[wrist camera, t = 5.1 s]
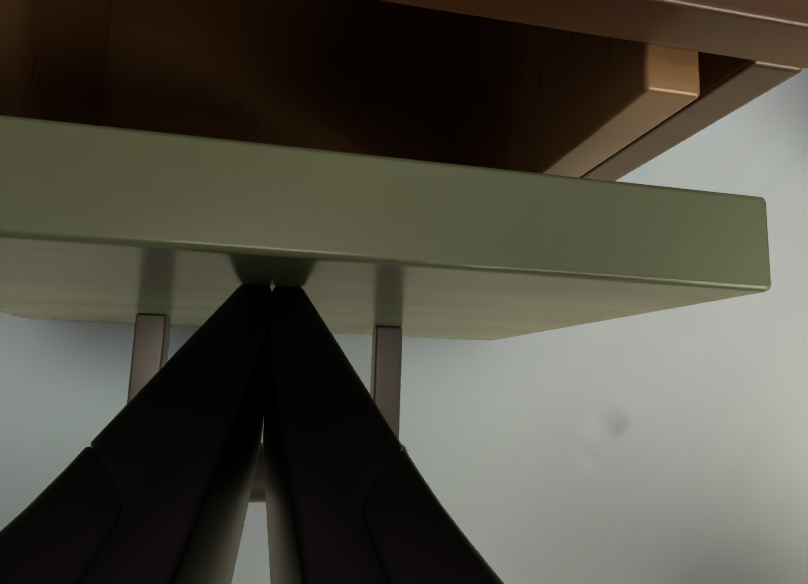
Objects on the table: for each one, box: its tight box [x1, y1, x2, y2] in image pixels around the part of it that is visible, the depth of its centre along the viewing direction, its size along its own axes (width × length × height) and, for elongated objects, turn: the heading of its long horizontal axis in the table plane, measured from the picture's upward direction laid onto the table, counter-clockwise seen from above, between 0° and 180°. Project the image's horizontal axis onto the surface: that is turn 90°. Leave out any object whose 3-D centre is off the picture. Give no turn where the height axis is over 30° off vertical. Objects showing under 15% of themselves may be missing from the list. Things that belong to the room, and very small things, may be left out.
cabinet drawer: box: [0, 0, 771, 502], centre depth 11 cm, size 15×12×10 cm
